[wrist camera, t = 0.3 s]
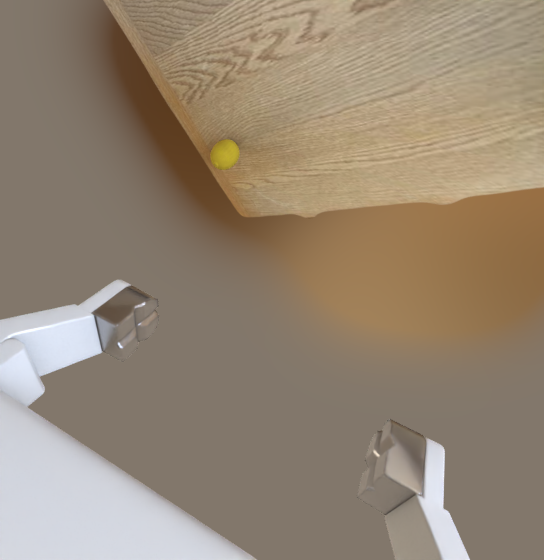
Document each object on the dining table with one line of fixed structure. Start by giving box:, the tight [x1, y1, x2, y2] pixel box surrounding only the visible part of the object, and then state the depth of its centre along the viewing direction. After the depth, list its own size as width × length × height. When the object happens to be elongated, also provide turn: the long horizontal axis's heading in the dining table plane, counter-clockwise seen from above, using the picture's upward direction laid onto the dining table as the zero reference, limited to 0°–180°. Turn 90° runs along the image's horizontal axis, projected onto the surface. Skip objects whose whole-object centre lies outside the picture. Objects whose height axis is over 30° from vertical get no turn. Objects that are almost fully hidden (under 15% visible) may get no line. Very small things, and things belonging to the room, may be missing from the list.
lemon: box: [210, 139, 239, 170], centre depth 71 cm, size 6×6×8 cm
